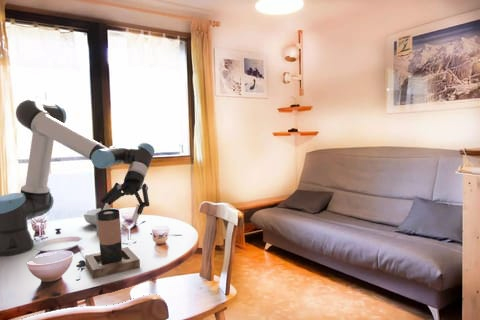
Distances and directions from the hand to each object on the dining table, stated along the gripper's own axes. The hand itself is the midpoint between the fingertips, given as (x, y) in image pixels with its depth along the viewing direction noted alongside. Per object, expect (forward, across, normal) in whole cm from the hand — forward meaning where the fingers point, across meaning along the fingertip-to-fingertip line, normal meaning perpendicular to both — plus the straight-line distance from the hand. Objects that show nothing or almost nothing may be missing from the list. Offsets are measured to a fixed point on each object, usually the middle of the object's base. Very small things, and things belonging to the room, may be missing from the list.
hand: (117, 220), depth 131 cm
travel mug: (+14, +1, -8) cm, 16 cm away
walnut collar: (+14, +1, -8) cm, 17 cm away
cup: (-10, +27, -34) cm, 45 cm away
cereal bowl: (-20, +38, -44) cm, 61 cm away
